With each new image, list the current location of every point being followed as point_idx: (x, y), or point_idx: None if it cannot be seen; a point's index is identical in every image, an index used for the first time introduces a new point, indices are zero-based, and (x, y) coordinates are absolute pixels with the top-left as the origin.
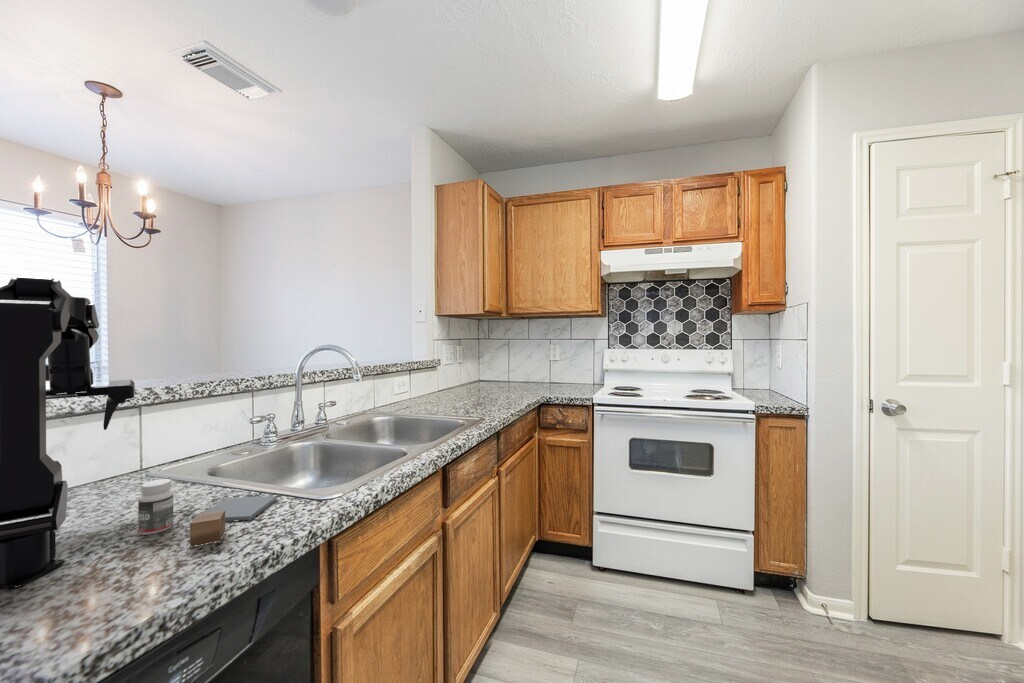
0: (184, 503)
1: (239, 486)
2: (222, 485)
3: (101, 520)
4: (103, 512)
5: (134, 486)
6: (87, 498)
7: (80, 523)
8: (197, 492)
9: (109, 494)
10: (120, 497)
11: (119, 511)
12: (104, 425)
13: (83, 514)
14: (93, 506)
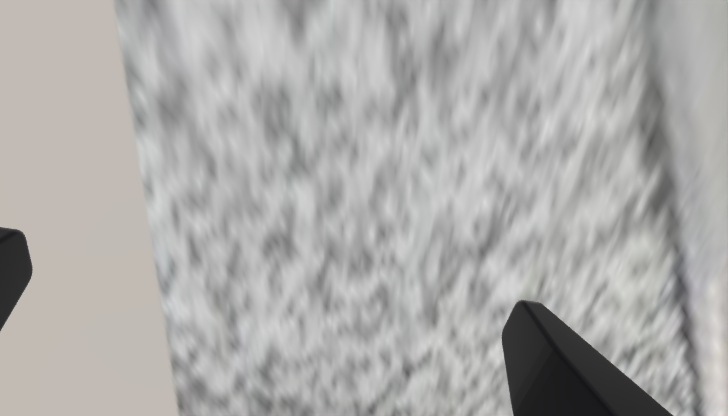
0: None
1: (708, 358)
2: (691, 306)
3: (359, 374)
4: (373, 304)
5: (518, 25)
6: (355, 64)
7: (315, 358)
8: (612, 320)
9: (423, 76)
10: (442, 165)
11: (407, 331)
12: (517, 399)
13: (327, 277)
14: (359, 208)
